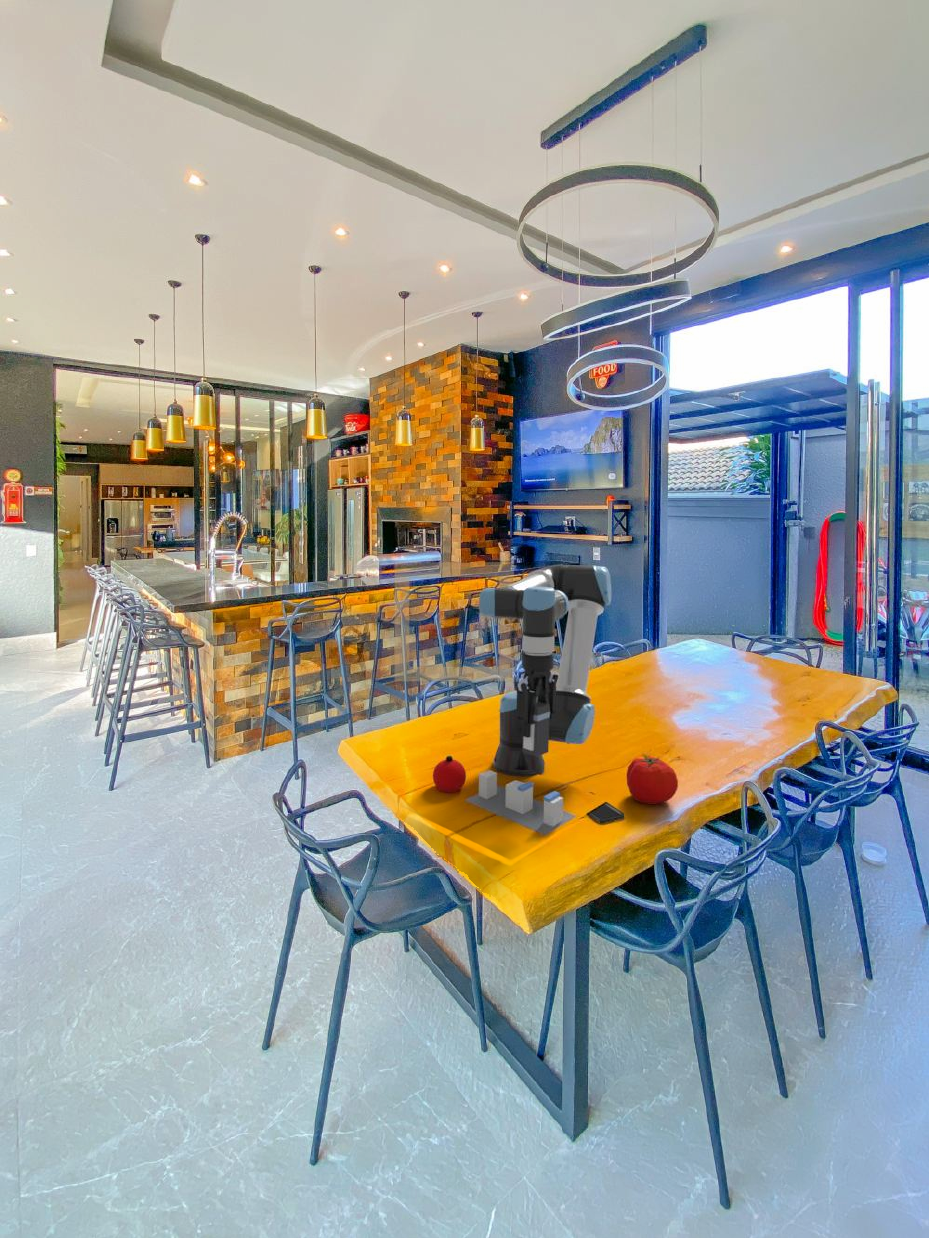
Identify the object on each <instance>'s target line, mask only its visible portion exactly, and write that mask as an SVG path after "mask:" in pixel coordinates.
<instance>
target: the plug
mask: <svg viewBox="0 0 929 1238" xmlns="http://www.w3.org/2000/svg"><path fill="white" fill-rule="evenodd" d="M549 717H550V704H546V703H542V702H538V701H536V704H535V710H534V716H533V721H532V723H533V724H535V729H534V750H533V751H531V750H528V749H525V748H523V741H524V736H523V737H522V752H524V753H527V754H530V755H533V756H536V757H537V756H540V755H542V756H543V755H545V754H547V753H549V747H550V745H549V743H550V742H549V741H550V740H549Z"/></svg>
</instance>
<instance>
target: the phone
mask: <svg viewBox="0 0 929 1238" xmlns="http://www.w3.org/2000/svg"><path fill="white" fill-rule="evenodd" d="M588 793H589V794H592V795H595V793H594V792H593V791H592V792H591V791H588ZM586 815H588V816H589V817H590V818H591V819H593V820H594V821H596V823H599V824H608V823H611V822H616V821H620V820H623V819H625V813H624V812H622V810H619V809H618V808H617V807H615V806H613V805H612V804H611V803H610V802H608V801H605V802H602V803H601V804H600V805H598V806H597V807H595V808H593V809H592V810H590V811H588V812H587V813H586Z"/></svg>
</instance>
